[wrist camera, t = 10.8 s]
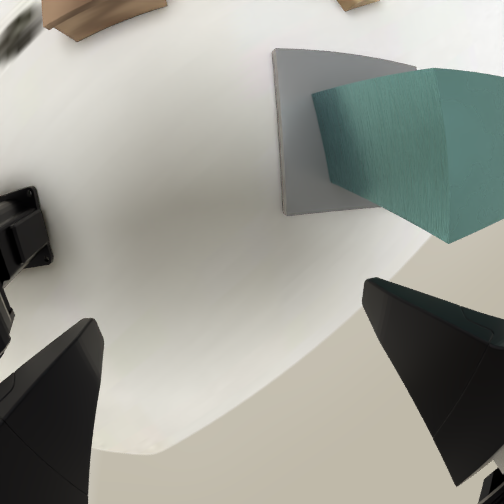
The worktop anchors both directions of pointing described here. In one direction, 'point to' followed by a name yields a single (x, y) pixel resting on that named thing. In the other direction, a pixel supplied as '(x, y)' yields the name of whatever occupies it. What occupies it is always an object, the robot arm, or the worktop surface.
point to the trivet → (315, 124)
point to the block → (354, 3)
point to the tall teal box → (420, 146)
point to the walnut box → (92, 14)
